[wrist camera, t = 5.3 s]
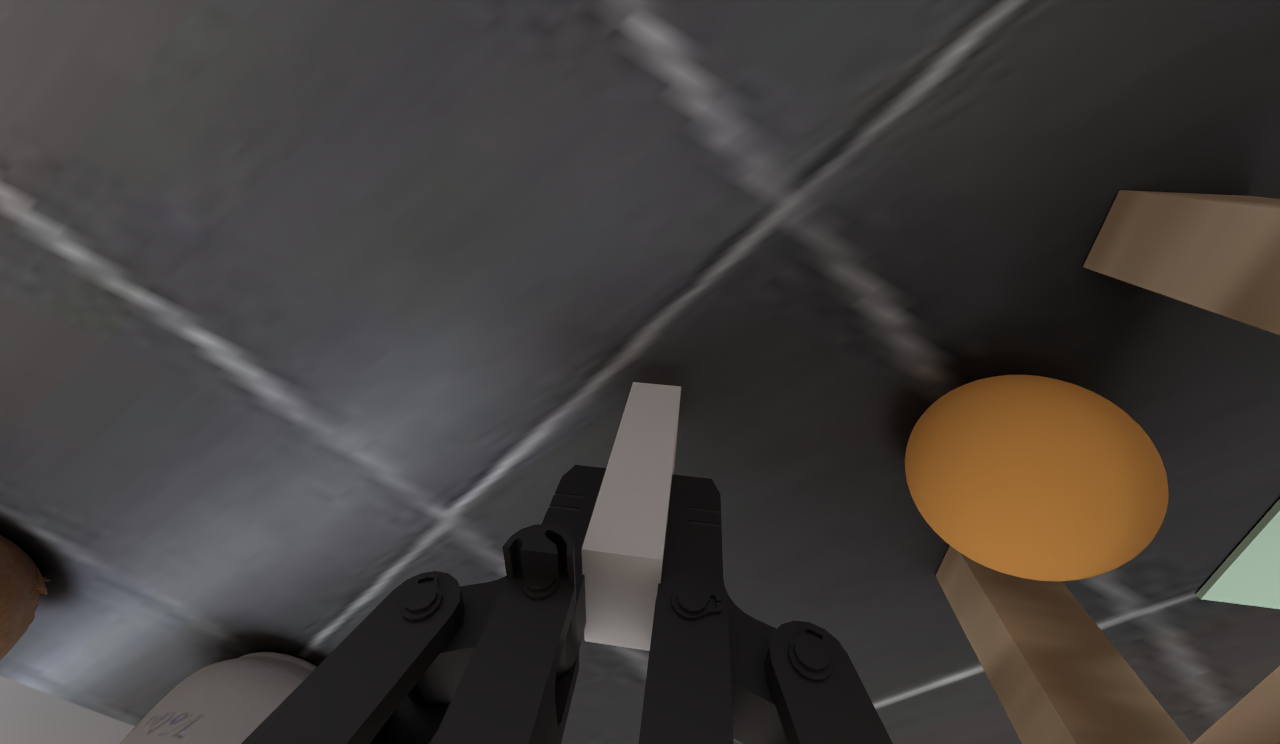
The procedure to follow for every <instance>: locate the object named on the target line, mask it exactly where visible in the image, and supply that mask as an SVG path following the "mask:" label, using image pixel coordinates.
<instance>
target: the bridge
mask: <svg viewBox="0 0 1280 744" xmlns="http://www.w3.org/2000/svg"><path fill="white" fill-rule="evenodd" d="M1083 267H1084V268H1087V269H1090V270H1092V271H1095V272H1098V273H1101V274H1104V275H1107V276H1110V277H1113V278H1116V279H1118V280H1121V281H1124V282H1127V283H1130V284H1133V285H1136V286H1139V287H1142V288H1144V289H1147V290H1150V291H1153V292H1156V293H1159V294H1162V295H1165V296H1168V297H1170V298H1173V299H1176V300H1179V301H1182V302H1185V303H1188V304H1191V305H1194V306H1197V307H1199V308H1202V309H1205V310H1208V311H1211V312H1214V313H1217V314H1220V315H1223V316H1225V317H1228V318H1231V319H1234V320H1237V321H1240V322H1243V323H1246V324H1249V325H1251V326H1254V327H1257V328H1260V329H1263V330H1266V331H1269V332H1272V333H1275V334H1277V335H1280V199H1274V198H1265V197H1255V196H1240V195H1218V194H1195V193H1173V192H1151V191H1128V190H1119V192H1118V194H1117V197H1116V199H1115V201H1114V203H1113V205H1112V207H1111V209H1110V211H1109V213H1108V215H1107V217H1106V220H1105V222H1104V224H1103V226H1102V228H1101V230H1100V232H1099V234H1098V236H1097V238H1096V241H1095V243H1094V245H1093V247H1092V249H1091V251H1090V253H1089V255H1088V257H1087V259H1086V261H1085V264H1084V266H1083ZM936 578H937V580H938V582H939V584H940V586H941V588H942V590H943V592H944V593H945V595H946V597H947V599H948V601H949V603H950V605H951V607H952V609H953V611H954V613H955V615H956V617H957V619H958V620H959V622H960V624H961V626H962V628H963V630H964V632H965V634H966V636H967V638H968V640H969V642H970V644H971V646H972V647H973V649H974V651H975V653H976V655H977V657H978V659H979V661H980V663H981V665H982V667H983V669H984V671H985V673H986V674H987V676H988V678H989V680H990V682H991V684H992V686H993V688H994V690H995V692H996V694H997V696H998V698H999V700H1000V702H1001V703H1002V705H1003V707H1004V709H1005V711H1006V713H1007V715H1008V717H1009V719H1010V721H1011V723H1012V725H1013V727H1014V729H1015V730H1016V732H1017V734H1018V736H1019V738H1020V740H1021V742H1022V744H1191V742H1190V741H1189V740H1188V739H1187V737H1186V736H1185V735H1184V734H1183V732H1182V731H1181V730H1180V729H1179V727H1178V726H1177V725H1176V724H1175V722H1174V721H1173V720H1172V719H1171V717H1170V716H1169V715H1168V713H1167V712H1166V711H1165V710H1164V708H1163V707H1162V706H1161V705H1160V703H1159V702H1158V701H1157V700H1156V698H1155V697H1154V696H1153V695H1152V693H1151V692H1150V691H1149V690H1148V688H1147V687H1146V686H1145V685H1144V683H1143V682H1142V681H1141V680H1140V678H1139V677H1138V676H1137V675H1136V673H1135V672H1134V671H1133V670H1132V668H1131V667H1130V666H1129V665H1128V663H1127V662H1126V661H1125V660H1124V658H1123V657H1122V656H1121V655H1120V653H1119V652H1118V651H1117V650H1116V648H1115V647H1114V646H1113V645H1112V643H1111V642H1110V641H1109V639H1108V638H1107V637H1106V636H1105V634H1104V633H1103V632H1102V631H1101V629H1100V628H1099V627H1098V626H1097V624H1096V623H1095V622H1094V621H1093V619H1092V618H1091V617H1090V616H1089V614H1088V613H1087V612H1086V611H1085V609H1084V608H1083V607H1082V606H1081V604H1080V603H1079V602H1078V601H1077V599H1076V598H1075V597H1074V596H1073V594H1072V593H1071V592H1070V591H1069V589H1068V588H1067V587H1066V586H1065V584H1064V583H1063V582H1062V581H1039V580H1032V579H1025V578H1020V577H1016V576H1013V575H1009V574H1005V573H1001V572H999V571H996V570H993V569H990V568H988V567H985V566H983V565H981V564H979V563H977V562H975V561H973V560H971V559H969V558H968V557H966V556H965V555H963V554H961V553H960V552H958V551H957V550H955V549H954V548H953V547H952V546H949V548H948V550H947V553H946V555H945V557H944V559H943V561H942V563H941V565H940V567H939V569H938V571H937V574H936ZM1192 744H1280V666H1279V667H1278V668H1277V669H1275V670H1274V671H1273V672H1272V673H1271V674H1270V675H1269V676H1268V677H1266V678H1265V679H1264V680H1263V681H1262V682H1261V683H1260V684H1259V685H1257V686H1256V687H1255V688H1254V689H1253V690H1252V691H1251V692H1250V693H1248V694H1247V695H1246V696H1245V697H1244V698H1243V699H1242V700H1241V701H1239V702H1238V703H1237V704H1236V705H1235V706H1234V707H1233V708H1232V709H1230V710H1229V711H1228V712H1227V713H1226V714H1225V715H1224V716H1223V717H1221V718H1220V719H1219V720H1218V721H1217V722H1216V723H1215V724H1214V725H1212V726H1211V727H1210V728H1209V729H1208V730H1207V731H1206V732H1205V733H1203V734H1202V735H1201V736H1200V737H1199V738H1198V739H1197V740H1196V741H1195V742H1193V743H1192Z"/></svg>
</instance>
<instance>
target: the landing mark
mask: <svg viewBox="0 0 1280 744" xmlns="http://www.w3.org/2000/svg"><path fill="white" fill-rule="evenodd" d="M1196 595H1197V596H1198V597H1199V598H1200V599H1203V600H1211V601H1219V602H1227V603H1235V604H1243V605H1251V606H1259V607H1267V608H1275V609H1280V499H1279V500H1278V501H1277V502H1276V504H1275V505H1274V506H1273V507H1272V508H1271V509H1270V510H1269V512H1268V513H1267V514H1266V515H1265V516H1264V517H1263V518H1262V520H1261V521H1260V522H1259V523H1258V524H1257V525H1256V526H1255V527H1254V529H1253V530H1252V531H1251V532H1250V533H1249V534H1248V535H1247V537H1246V538H1245V539H1244V540H1243V541H1242V542H1241V543H1240V545H1239V546H1238V547H1237V548H1236V549H1235V550H1234V551H1233V552H1232V554H1231V555H1230V556H1229V557H1228V558H1227V559H1226V560H1225V562H1224V563H1223V564H1222V565H1221V566H1220V567H1219V568H1218V570H1217V571H1216V572H1215V573H1214V574H1213V575H1212V576H1211V578H1210V579H1209V580H1208V581H1207V582H1206V583H1205V584H1204V585H1203V587H1202V588H1201V589H1200V590H1199V591H1198V592H1197V593H1196Z"/></svg>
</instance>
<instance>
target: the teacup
mask: <svg viewBox="0 0 1280 744" xmlns="http://www.w3.org/2000/svg"><path fill="white" fill-rule="evenodd" d="M316 668H317V666H315V665H313V664H311V663H309V662H307V661H305V660H302V659H299V658H296V657H294V656H290V655H286V654H281V653H275V652H257V653H251V654H247V655H244V656H241V657H239V658H236V659H230V660H225V661H221V662H218V663H214V664H211V665H209V666H206V667H204V668H202V669H200V670H198V671H197V672H195V673H193V674H192V675H190V676H189V677H187V678H186V679H185V680H183V681H182V682H181V683H180V684H178V685H177V686H176V687H175V688H174V689H173V690H172V691H170V692H169V693H168V694H167V695H166V696H165V697H164V698H163V699H162V700H161V701H160V702H159V703H158V704H157V705H156V706H155V707H154V708H153V709H152V710H151V711H150V712H149V713H148V714H147V715H146V716H145V717H144V718H143V719H142V720H141V721H140V722H139V723H138V725H137V726H136V727H135V728H134V729H133V730H132V731H131V732H130V733H129V734H128V735H127V736H126V737H125V738H124V739H123V740H122V742H121V743H120V744H241V743H242V742H243V741H244V740H245V739H246V738H247V737H248V736H249V735H250V734H251V733H252V732H253V731H254V730H255V729H256V728H257V727H258V726H259V725H260V724H261V723H262V722H263V721H264V720H265V719H266V718H267V717H268V716H269V715H270V714H271V713H272V712H273V711H274V710H275V709H276V708H277V707H278V706H279V705H280V704H281V703H282V702H283V701H284V700H285V699H286V698H287V697H288V696H289V695H290V694H291V693H292V692H293V691H294V690H295V689H296V688H297V687H298V686H299V685H300V684H301V683H302V682H303V681H304V680H305V679H306V678H307V677H308V676H309V675H310V674H311V673H312V672H313V671H314V670H315V669H316Z"/></svg>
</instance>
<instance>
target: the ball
mask: <svg viewBox="0 0 1280 744" xmlns="http://www.w3.org/2000/svg"><path fill="white" fill-rule="evenodd" d="M905 473H906V479H907V484H908V487H909V490H910V493H911V496H912V498H913V500H914V502H915V504H916V507H917V508H918V510H919V511H920V513H921V515H922V516H923V518H924V519H925V520H926V522H927V523H928V524H929V525H930V526H931V528H932V529H933V530H934V531H935V532H936V533H937V534H938V535H939V536H940V537H941V538H942V539H943V540H944V541H945V542H946V543H948V544H949V545H950V546H952V547H953V548H954V549H955V550H957V551H958V552H960V553H961V554H963V555H965V556H966V557H968V558H969V559H971V560H973V561H975V562H977V563H979V564H981V565H983V566H985V567H988V568H990V569H993V570H996V571H999V572H1001V573H1005V574H1009V575H1013V576H1016V577H1020V578H1025V579H1032V580H1039V581H1069V580H1079V579H1084V578H1089V577H1094V576H1098V575H1100V574H1103V573H1106V572H1108V571H1111V570H1114V569H1116V568H1118V567H1120V566H1121V565H1123V564H1125V563H1127V562H1128V561H1130V560H1132V559H1133V558H1134V557H1136V556H1137V555H1138V554H1139V553H1140V552H1141V551H1142V550H1144V549H1145V548H1146V547H1147V546H1148V545H1149V544H1150V542H1151V541H1152V540H1153V538H1154V537H1155V536H1156V534H1157V532H1158V530H1159V528H1160V526H1161V524H1162V522H1163V519H1164V517H1165V513H1166V510H1167V505H1168V497H1169V492H1168V481H1167V474H1166V471H1165V468H1164V465H1163V462H1162V459H1161V457H1160V454H1159V453H1158V451H1157V449H1156V447H1155V446H1154V444H1153V442H1152V441H1151V439H1150V438H1149V436H1148V435H1147V434H1146V433H1145V431H1144V430H1143V429H1142V428H1141V427H1140V425H1139V424H1138V423H1136V422H1135V421H1134V420H1133V419H1132V418H1131V417H1130V416H1129V415H1128V414H1127V413H1126V412H1124V411H1123V410H1122V409H1120V408H1119V407H1118V406H1116V405H1115V404H1113V403H1112V402H1111V401H1109V400H1107V399H1105V398H1104V397H1102V396H1100V395H1098V394H1096V393H1094V392H1092V391H1090V390H1087V389H1085V388H1083V387H1080V386H1078V385H1075V384H1072V383H1068V382H1065V381H1061V380H1058V379H1053V378H1048V377H1042V376H1033V375H1003V376H995V377H989V378H984V379H980V380H976V381H973V382H970V383H967V384H965V385H962V386H960V387H958V388H956V389H954V390H952V391H950V392H948V393H947V394H945V395H944V396H942V397H941V398H939V399H938V400H937V401H935V402H934V403H933V404H932V405H931V406H930V407H929V408H928V409H927V410H926V411H925V412H924V413H923V414H922V416H921V417H920V418H919V420H918V421H917V423H916V424H915V426H914V428H913V430H912V432H911V435H910V437H909V440H908V444H907V447H906V455H905Z"/></svg>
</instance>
